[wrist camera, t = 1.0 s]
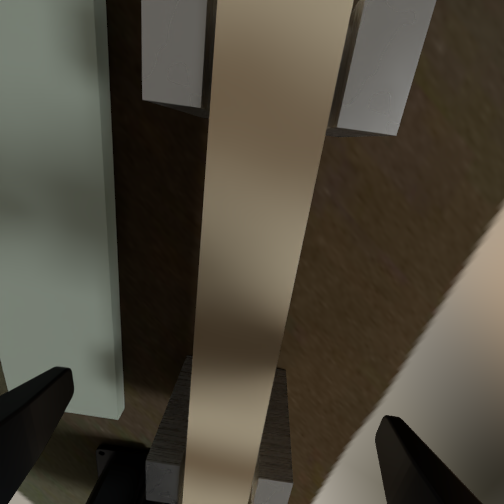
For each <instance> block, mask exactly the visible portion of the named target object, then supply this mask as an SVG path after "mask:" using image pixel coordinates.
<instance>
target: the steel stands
mask: <svg viewBox="0 0 504 504" xmlns="http://www.w3.org/2000/svg"><path fill="white" fill-rule="evenodd" d="M435 3H436V0H359V2H358V3H357V5H356V6H355V8H354V9H353V11H352V13H351V15H350V19H349V24H348V29H347V34H346V39H345V43H344V48H343V53H342V58H341V62H340V67H339V72H338V77H337V81H336V86H335V91H334V96H333V100H332V105H331V110H330V115H329V119H328V124H327V129H326V134H325V135H328V136H335V137H362V136H396V134H397V131H398V128H399V124H400V121H401V118H402V114H403V111H404V107H405V104H406V101H407V97H408V94H409V91H410V87H411V84H412V80H413V77H414V74H415V70H416V67H417V64H418V60H419V57H420V53H421V50H422V47H423V43H424V40H425V37H426V33H427V30H428V26H429V23H430V20H431V16H432V13H433V9H434V6H435ZM216 14H217V0H141V17H142V100H145V101H148V102H152V103H155V104H158V105H162V106H165V107H168V108H171V109H175V110H178V111H181V112H184V113H188V114H191V115H194V116H198V117H201V118H208V119H209V115H210V100H211V86H212V71H213V57H214V43H215V28H216ZM192 359H193V356H188V355H187V356H186V359H185V361H184V364H183V366H182V369H181V371H180V374H179V377H178V379H177V382H176V384H175V387H174V389H173V392H172V395H171V397H170V400H169V402H168V405H167V407H166V410H165V413H164V415H163V418H162V420H161V423H160V425H159V428H158V430H157V433H156V436H155V438H154V441H153V443H152V446H151V448H150V451H149V454H148V456H147V459H146V500H151V501H157V502H164V503H170V504H178V501H179V497H180V493H181V489H182V485H183V481H184V475H185V460H186V446H187V431H188V417H189V403H190V388H191V374H192ZM292 486H293V472H292V457H291V441H290V426H289V410H288V395H287V379H286V370H282V369H276V371H275V376H274V381H273V386H272V390H271V395H270V400H269V405H268V409H267V414H266V419H265V424H264V428H263V433H262V438H261V443H260V447H259V452H258V457H257V462H256V466H255V471H254V476H253V481H252V497H251V504H287V503H288V499H289V496H290V493H291V489H292Z"/></svg>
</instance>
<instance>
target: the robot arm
mask: <svg viewBox="0 0 504 504" xmlns="http://www.w3.org/2000/svg"><path fill="white" fill-rule="evenodd" d="M73 394H74V382H73V374H72V370H71V369H70V368H67V367H61V366H56V367H53V368H51V369H49V370H47V371H45V372H43V373H42V374H40V375H38V376H36V377H34V378H32V379H30V380H29V381H27V382H25V383H23V384H21V385H19V386H17V387H16V388H14V389H12V390H10V391H8V392H6V393H4V394H3V395H1V396H0V504H8V503H9V501H10V500H11V498H12V497H13V495H14V494H15V492H16V491H17V490H18V488H19V487H20V485H21V484H22V482H23V481H24V479H25V478H26V476H27V475H28V473H29V472H30V470H31V469H32V467H33V466H34V464H35V462H36V461H37V459H38V458H39V456H40V455H41V453H42V451H43V450H44V448H45V446H46V444H47V442H48V441H49V439H50V437H51V435H52V433H53V432H54V430H55V428H56V426H57V424H58V423H59V421H60V419H61V417H62V415H63V413H64V412H65V410H66V408H67V406H68V404H69V403H70V401H71V399H72V397H73ZM375 443H376V449H377V454H378V459H379V464H380V469H381V475H382V480H383V485H384V490H385V495H386V500H387V504H482V502H481V501H480V500H479V499H478V498H477V497H476V496H475V495H474V494H473V493H472V492H471V491H470V490H469V489H468V488H467V487H466V486H465V485H464V484H463V483H462V482H461V481H460V480H459V478H458V477H457V476H456V475H455V474H454V473H453V472H452V471H451V470H450V469H449V468H448V467H447V466H446V465H445V464H444V463H443V462H442V461H441V460H440V459H439V458H438V457H437V455H436V454H435V453H434V452H433V451H432V450H431V449H430V448H429V447H428V446H427V445H426V444H425V443H424V442H423V441H422V440H421V439H420V438H419V437H418V436H417V435H416V434H415V432H414V431H413V430H412V429H411V428H410V427H409V426H408V425H407V424H406V423H405V422H404V421H403V420H402V419H401V418H399V417H395V416H389V415H386V416H384V417H383V419H382V421H381V423H380V426H379V428H378V430H377V433H376V437H375ZM148 454H149V451H144V450H138V449H131V448H125V447H118V446H112V445H105V444H101V445H99V446H98V448H97V450H96V460H97V469H98V480H97V482H96V484H95V486H94V488H93V490H92V492H91V494H90V496H89V498H88V500H87V502H86V504H170V503H164V502H157V501H151V500H146V459H147V456H148Z"/></svg>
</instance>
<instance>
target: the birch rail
mask: <svg viewBox="0 0 504 504" xmlns="http://www.w3.org/2000/svg"><path fill="white" fill-rule="evenodd" d="M352 5H353V0H217V14H216V28H215V43H214V57H213V71H212V86H211V100H210V115H209V129H208V143H207V158H206V172H205V187H204V201H203V215H202V230H201V244H200V259H199V273H198V287H197V302H196V316H195V331H194V345H193V359H192V374H191V388H190V403H189V417H188V431H187V446H186V460H185V475H184V489H183V503H182V504H248V500H249V495H250V490H251V485H252V481H253V476H254V471H255V466H256V462H257V457H258V452H259V447H260V443H261V438H262V433H263V428H264V424H265V419H266V414H267V409H268V405H269V400H270V395H271V390H272V386H273V381H274V376H275V371H276V366H277V362H278V357H279V352H280V347H281V343H282V338H283V333H284V328H285V324H286V319H287V314H288V309H289V305H290V300H291V295H292V290H293V286H294V281H295V276H296V271H297V267H298V262H299V257H300V252H301V248H302V243H303V238H304V233H305V229H306V224H307V219H308V214H309V210H310V205H311V200H312V195H313V191H314V186H315V181H316V176H317V172H318V167H319V162H320V157H321V153H322V148H323V143H324V138H325V134H326V129H327V124H328V119H329V115H330V110H331V105H332V100H333V96H334V91H335V86H336V81H337V77H338V72H339V67H340V62H341V58H342V53H343V48H344V43H345V39H346V34H347V29H348V24H349V19H350V15H351V10H352Z"/></svg>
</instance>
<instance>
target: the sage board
mask: <svg viewBox="0 0 504 504" xmlns="http://www.w3.org/2000/svg"><path fill="white" fill-rule="evenodd" d="M0 360H1V364H2V368H3V372H4V376H5V380H6V384H7V388H8V391H10V390H12V389H14V388H16V387H17V386H19V385H21V384H23V383H25V382H27V381H29V380H30V379H32V378H34V377H36V376H38V375H40V374H42V373H43V372H45V371H47V370H49V369H51V368H53V367H56V366H61V367H67V368H70V369H71V370H72V374H73V382H74V394H73V397H72V399H71V401H70V403H69V404H68V406H67V408H66V410H65V412H70V413H76V414H83V415H90V416H96V417H103V418H109V419H116V420H118V419H119V417H120V416H121V414H122V412H123V410H124V408H125V406H124V384H123V362H122V341H121V319H120V297H119V276H118V254H117V232H116V211H115V189H114V167H113V146H112V124H111V102H110V81H109V59H108V37H107V16H106V0H0Z"/></svg>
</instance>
